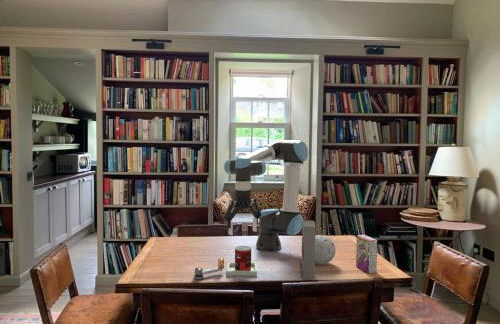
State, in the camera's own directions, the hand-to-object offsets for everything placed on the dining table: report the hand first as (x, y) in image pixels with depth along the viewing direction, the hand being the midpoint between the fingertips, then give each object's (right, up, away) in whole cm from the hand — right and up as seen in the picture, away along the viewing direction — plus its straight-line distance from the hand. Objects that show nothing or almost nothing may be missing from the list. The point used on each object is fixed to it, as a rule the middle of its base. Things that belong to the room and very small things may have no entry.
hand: (242, 233), depth 181 cm
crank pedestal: (-20, -19, -9) cm, 29 cm away
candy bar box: (+61, -20, +5) cm, 65 cm away
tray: (0, -19, 0) cm, 19 cm away
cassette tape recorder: (+31, -20, -3) cm, 37 cm away
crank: (-15, -18, -6) cm, 24 cm away
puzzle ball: (+40, -19, +14) cm, 47 cm away
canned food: (0, -18, 0) cm, 18 cm away
